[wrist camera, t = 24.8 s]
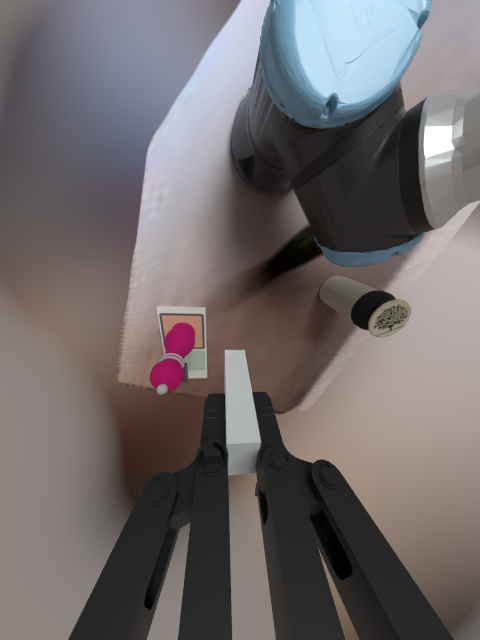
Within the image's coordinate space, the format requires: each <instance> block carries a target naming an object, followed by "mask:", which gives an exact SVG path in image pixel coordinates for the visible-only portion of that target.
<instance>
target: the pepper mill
mask: <svg viewBox="0 0 480 640" xmlns="http://www.w3.org/2000/svg"><path fill="white" fill-rule="evenodd" d="M194 345H195V330H194V328H193V327H192V326H191V325H190V324H188V323H183V322H181V323H177V324H175V325H174V326H173V328H172V329H171V330H170V331H169V332H168V333H167V335H166V337H165V340H164V346H165V355H163V356H162V357H161V358H160V360H159V362H158V363H157V364H156V365H155V366H154V367H153V368H152V371H151V373H150V382H151V384H152V385H153V386H154V387H155V388H156V389H157V392H158V394H165V393H166V392H167V391H171V390H174V389H176V388H177V387H178V386H179V385H180V384H181V382H182V381H183V378H184V370H183V368H184V364H185V363H184V358H185V356H186V355H188V354H189V353H190V352H191V351H192V349H193V348H194Z"/></svg>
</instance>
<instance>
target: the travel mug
mask: <svg viewBox="0 0 480 640" xmlns="http://www.w3.org/2000/svg"><path fill="white" fill-rule="evenodd" d="M319 296H320V299H321V300H322V301H323V302H324V303H325V304H327V305H328V306H330V307H331V308H332V309H334V310H335V311H337V312H338V313H340V314H341V315H342V316H344V317H345V318H347V319H348V320H350V321H351V322H353V323H354V324H355V325H357V326H358V327H360V328H361V329H364V330H369V331H370V333H371V334H372V335H374V336H376V337H387V336H390V335H392V334H394V333H396V332H398V331H399V330H400V329H402V328H403V327H404V326H405V324H406V323H407V322H408V320H409V318H410V315H411V307H410V305H409V304H408V303H407V302H406V301H404V300H396V299H395V297H394V296H393V295H392V294H389V293H387V292H384V291H381V290H379V289H376V288H373V287H370V286H368V285H365V284H362V283H360V282H357V281H354V280H352V279H349V278H346V277H344V276H340V275H335V276H332V277H330V278H328V279H327V280H326V281H325V282H324V283H323V284H322V286H321V288H320V291H319Z"/></svg>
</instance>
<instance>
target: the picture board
mask: <svg viewBox="0 0 480 640" xmlns="http://www.w3.org/2000/svg"><path fill="white" fill-rule="evenodd" d="M157 314H158V320H159V326H160V332H161V339H162V345H163V351H164V355H165V346H164V340H165V337H166V335H167V333H168V332H169V331H170V330H171V329H172V328H173V326H174V325H175V324H177V323H181V322H183V323H188V324H190V325H191V326H192V327H193V328H194V330H195V345H194V348H193V349H192V351H191V352H190V353H189V354H188V355H186V356H185V358H184V363H185V364H184V368H183V370H184V378H183V381H182V382H187V380H188V378H207V345H206V307H166V306H158V307H157Z"/></svg>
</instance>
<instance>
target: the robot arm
mask: <svg viewBox="0 0 480 640" xmlns="http://www.w3.org/2000/svg"><path fill="white" fill-rule="evenodd" d="M431 3H432V0H271V1H270V4H269V7H268V8H267V11H266V15H265V18H264V22H263V26H262V33H261V37H260V47H259V52H258V58H257V63H256V68H255V73H254V79H253V84H252V86H251V87H250V88H249V89H248V91H247V92H246V93H245V95H244V96H243V98H242V100H241V102H240V104H239V106H238V109H237V112H236V115H235V119H234V124H233V131H232V153H233V158H234V162H235V165H236V168H237V170H238V172H239V174H240V176H241V178H242V179H243V180H244V182H245V183H246V184H247V185H248V186H249V187H250V188H252V189H253V190H255V191H256V192H259V193H261V194H266V195H273V194H278V193H281V192H283V191H285V190H287V189H289V188H290V187H293V190H294V192H295V194H296V196H297V199H298V201H299V203H300V205H301V207H302V209H303V212H304V214H305V216H306V218H307V220H308V222H309V224H310V227H311V229H312V231H313V233H314V235H315V237H314V238H315V241H316V243H317V245H318V246H319V247H320V248H321V250H322V251H323V253H324V255H325V257H326V258H327V259H328V260H329V261H330V262H332V263H333V264H336V265H339V266H344V267H360V266H368V265H373V264H377V263H380V262H384V261H387V260H389V259H390V258H391V256H394V255H401V254H403V253H405V252H407V251H408V250H410V249H411V248H413V247H414V246H415V245H416V244H417V243H418V242H419V241H420V240H421V239H422V237H423V235H424V233H425V232H427V231H431V230H434V229H438V228H441V227H443V226H444V225H445V224H446V223H447V222H448V221H449V220H450V219H451V218H452V217H453V216H454V215H455V214H456V213H457V212H458V211H459V210H460V209H462V208H463V207H465V206H466V205H468V204H469V203H473V202H476V201H479V200H480V86H478V87H477V88H475V89H474V90H472V91H470V92H467V93H464V94H452V93H443V92H435V93H433V94H432V95H430V96H428V97H427V98H426V99H424V100H423V101H421V102H420V103H419V104H417V105H416V106H414V107H413V108H411V109H410V110H409V111H406V110H405V108H404V102H403V95H402V89H401V82H400V80H401V78H402V76H403V74H404V73H405V71H406V70H407V68H408V66H409V65H410V63H411V61H412V59H413V57H414V55H415V53H416V51H417V49H418V47H419V44H420V41H421V38H422V33H421V31H420V29H421V27H422V25H423V24H424V22H425V21H426V20H427V18H428V16H429V13H430V8H431ZM255 470H256V473H257V484H256V489H255V496H258V503H259V511H260V519H261V526H262V532H263V541H264V550H265V557H266V565H267V573H268V581H269V588H270V596H271V603H272V612H273V620H274V627H275V634H276V640H345V637H344V634H343V631H342V627H341V624H340V621H339V617H338V614H337V610H336V607H335V604H334V600H333V597H332V594H331V590H330V587H329V583H328V580H327V577H326V573H325V570H324V567H323V563H322V560H321V557H320V553H321V555H322V557H323V559H324V562H325V564H326V566H327V568H328V570H329V573H330V575H331V577H332V579H333V582H334V584H335V586H336V588H337V590H338V593H339V595H340V597H341V599H342V602H343V604H344V606H345V608H346V610H347V613H348V615H349V617H350V619H351V621H352V624H353V626H354V628H355V630H356V633H357V635H358V637H359V639H360V640H454V639H453V637H452V636H451V635H450V633H449V632H448V630H447V629H446V627H445V626H444V624H443V623H442V622H441V620H440V618H439V617H438V615H437V614H436V612H435V611H434V610H433V608H432V607H431V605H430V604H429V602H428V601H427V599H426V598H425V596H424V595H423V594H422V592H421V591H420V589H419V587H418V586H417V584H416V583H415V582H414V580H413V579H412V577H411V576H410V574H409V573H408V571H407V570H406V568H405V567H404V565H403V564H402V562H401V561H400V560H399V558H398V557H397V555H396V554H395V552H394V551H393V549H392V548H391V546H390V545H389V543H388V542H387V541H386V539H385V537H384V536H383V534H382V533H381V532H380V530H379V529H378V527H377V526H376V524H375V523H374V521H373V520H372V518H371V517H370V515H369V514H368V512H367V511H366V509H365V508H364V507H363V505H362V503H361V502H360V501H359V499H358V498H357V496H356V495H355V493H354V492H353V490H352V489H351V487H350V486H349V484H348V483H347V481H346V480H345V478H344V477H343V476H342V474H341V473H340V471H339V470H338V469H337V468H336V467H335V466H334V465H333V464H331V463H330V462H329V461H326V460H317V461H316V462H314V463H310V462H307V461H304V460H301V459H298V458H296V457H294V456H293V455H291V454H290V453H289V452H288V451H287V449H286V448H285V446H284V444H283V441H282V438H281V434H280V431H279V427H278V424H277V420H276V416H275V413H274V409H273V406H272V402H271V399H270V397H269V396H268V395H267V393H266V392H252V389H251V383H250V378H249V372H248V367H247V361H246V356H245V350H225V368H224V394H209V395H208V397H207V399H206V401H205V405H204V416H203V424H202V434H201V443H200V447H199V449H198V451H197V454H196V459H195V460H194V461H193V462H192V463H191V464H190V465H189V466H187V467H186V468H184V469H182V470H180V471H178V472H175V473H173V474H171V473H169V472H161V473H159V474H156V475H154V476H153V477H152V478H151V479H150V480H149V481H148V482H147V484H146V485H145V486H144V488H143V490H142V492H141V494H140V496H139V498H138V500H137V502H136V504H135V506H134V508H133V510H132V512H131V514H130V516H129V518H128V520H127V522H126V524H125V526H124V528H123V530H122V532H121V534H120V536H119V538H118V540H117V542H116V544H115V547H114V548H113V550H112V552H111V554H110V556H109V558H108V560H107V563H106V564H105V566H104V569H103V570H102V572H101V575H100V577H99V579H98V581H97V583H96V585H95V587H94V589H93V591H92V593H91V595H90V597H89V599H88V601H87V603H86V605H85V607H84V609H83V611H82V613H81V615H80V617H79V619H78V621H77V623H76V625H75V627H74V629H73V631H72V633H71V635H70V637H69V639H68V640H147V636H148V633H149V630H150V626H151V623H152V619H153V616H154V613H155V610H156V606H157V603H158V600H159V597H160V593H161V590H162V587H163V583H164V580H165V576H166V573H167V570H168V567H169V563H170V560H171V557H172V554H173V550H174V547H175V544H176V540H177V537H178V534H179V530H180V528H182V527H183V526H185V525H187V524H188V523H190V522H191V524H190V533H189V543H188V551H187V561H186V570H185V579H184V588H183V598H182V607H181V616H180V626H179V635H178V640H232V617H231V576H230V537H229V535H230V533H229V491H228V475H235V474H247V473H255ZM317 546H318V547H317ZM318 548H319V550H320V553H319V550H318Z"/></svg>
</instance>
